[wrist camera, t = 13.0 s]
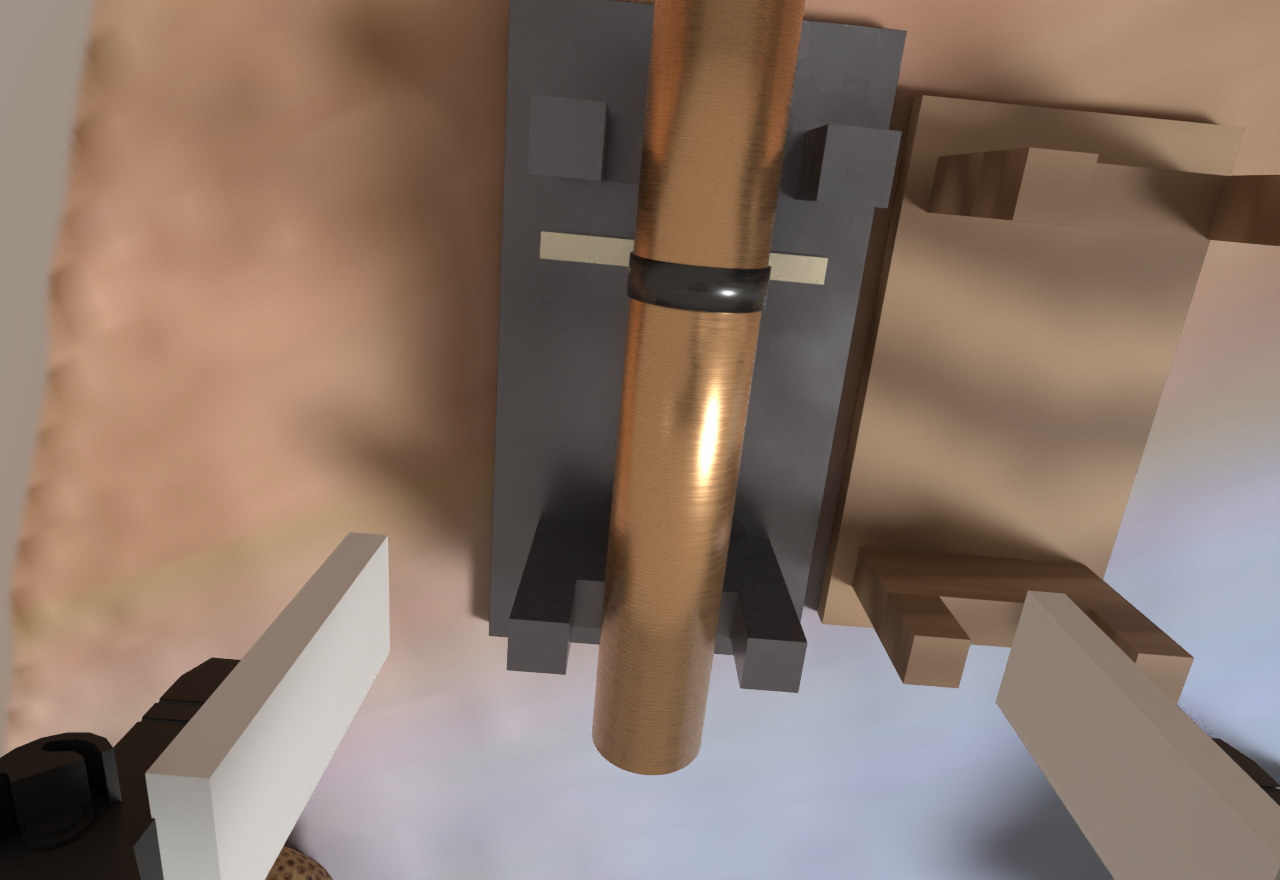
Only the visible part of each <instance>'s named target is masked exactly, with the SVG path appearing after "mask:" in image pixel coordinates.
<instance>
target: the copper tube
mask: <svg viewBox="0 0 1280 880" xmlns="http://www.w3.org/2000/svg"><path fill="white" fill-rule="evenodd" d="M804 8H805V0H655V5H654V17H653V28H652V40H651V52H650V63H649V75H648V87H647V98H646V110H645V121H644V133H643V145H642V156H641V168H640V180H639V191H638V203H637V214H636V226H635V238H634V249H633V252H631V253H630V256H629V268H628V280H627V292H626V295H627V296H628V297H629V308H628V319H627V331H626V342H625V354H624V366H623V377H622V389H621V401H620V412H619V424H618V436H617V447H616V459H615V470H614V482H613V494H612V505H611V517H610V529H609V540H608V552H607V563H606V575H605V587H604V598H603V610H602V622H601V633H600V645H599V657H598V668H597V680H596V691H595V703H594V715H593V726H592V738H593V742H594V744H595V747H596V748H597V750H598V751H599V753H600V754H601V755H602V756H603V757H604V758H605V759H606V760H608V761H609V762H610V763H612V764H613V765H615V766H617V767H619V768H621V769H624V770H626V771H629V772H633V773H637V774H644V775H662V774H668V773H672V772H675V771H678V770H680V769H682V768H684V767H686V766H687V765H689V764H690V763H691V762H692V761H693V760H694V759H695V758H696V756H697V754H698V753H699V750H700V745H701V739H702V731H703V724H704V717H705V710H706V703H707V696H708V689H709V682H710V675H711V668H712V661H713V653H714V646H715V639H716V632H717V625H718V618H719V611H720V604H721V597H722V590H723V583H724V575H725V568H726V561H727V554H728V547H729V540H730V533H731V526H732V519H733V512H734V504H735V497H736V490H737V483H738V476H739V469H740V462H741V455H742V448H743V441H744V434H745V426H746V419H747V412H748V405H749V398H750V391H751V384H752V377H753V370H754V363H755V356H756V348H757V341H758V334H759V327H760V320H761V313H762V311H763V310H765V308H766V302H767V295H768V288H769V281H770V274H771V266H769V265H768V263H769V256H770V249H771V242H772V235H773V228H774V221H775V214H776V207H777V199H778V192H779V185H780V178H781V171H782V164H783V157H784V150H785V143H786V136H787V129H788V121H789V114H790V107H791V100H792V93H793V86H794V79H795V72H796V65H797V58H798V50H799V43H800V36H801V29H802V22H803V15H804Z"/></svg>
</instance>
